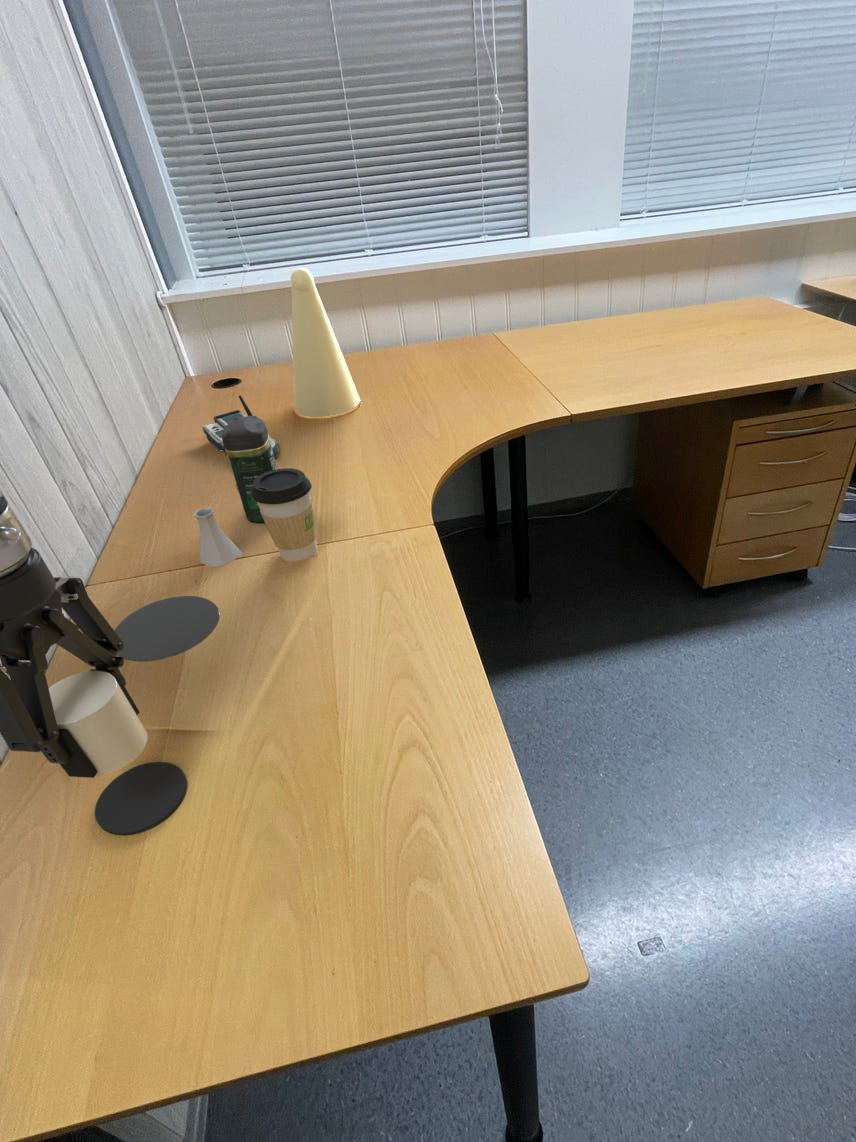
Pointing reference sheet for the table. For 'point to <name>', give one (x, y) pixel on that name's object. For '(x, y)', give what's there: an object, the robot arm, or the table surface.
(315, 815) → the table surface
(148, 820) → the coaster
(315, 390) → the cone light
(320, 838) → the table surface
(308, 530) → the coffee cup
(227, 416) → the communication device
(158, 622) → the plate
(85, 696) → the white cylinder
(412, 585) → the table surface
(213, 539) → the flask
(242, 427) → the coffee jar
